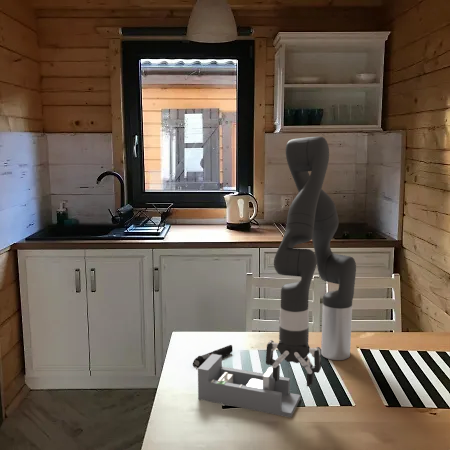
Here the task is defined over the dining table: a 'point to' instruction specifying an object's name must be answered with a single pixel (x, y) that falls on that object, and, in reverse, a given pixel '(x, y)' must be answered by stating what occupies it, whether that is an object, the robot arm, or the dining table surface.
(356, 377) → the dining table surface
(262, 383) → the notched taupe block
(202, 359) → the electric trimmer
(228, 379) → the drag pointer
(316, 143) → the robot arm
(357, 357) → the dining table surface
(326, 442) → the dining table surface
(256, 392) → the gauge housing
